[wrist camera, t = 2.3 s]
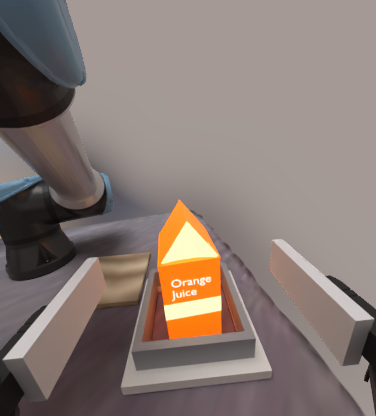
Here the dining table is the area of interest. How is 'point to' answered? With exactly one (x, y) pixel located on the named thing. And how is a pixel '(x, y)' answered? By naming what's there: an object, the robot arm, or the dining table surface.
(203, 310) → the orange juice
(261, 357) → the collar holder
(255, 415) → the dining table surface
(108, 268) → the oak board
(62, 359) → the robot arm
